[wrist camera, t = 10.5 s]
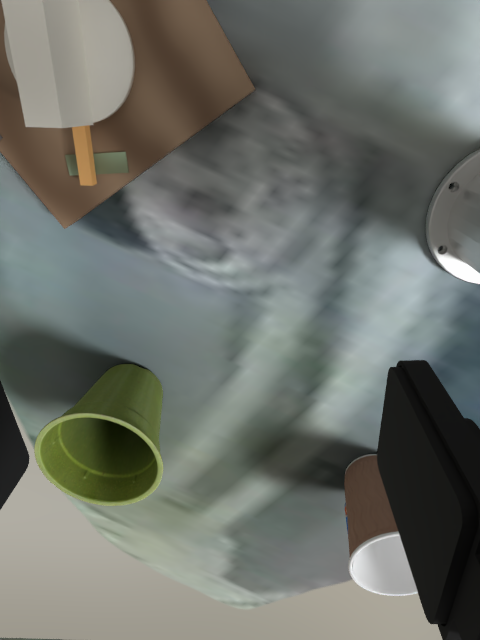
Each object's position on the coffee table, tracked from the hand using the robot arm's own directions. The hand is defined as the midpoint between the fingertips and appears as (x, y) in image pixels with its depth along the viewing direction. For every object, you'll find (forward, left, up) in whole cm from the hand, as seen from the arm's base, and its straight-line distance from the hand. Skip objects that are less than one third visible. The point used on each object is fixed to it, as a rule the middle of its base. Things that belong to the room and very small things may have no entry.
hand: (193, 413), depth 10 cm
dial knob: (+6, -13, -27) cm, 31 cm away
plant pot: (+23, +12, -31) cm, 40 cm away
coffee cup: (+5, +38, -31) cm, 49 cm away
